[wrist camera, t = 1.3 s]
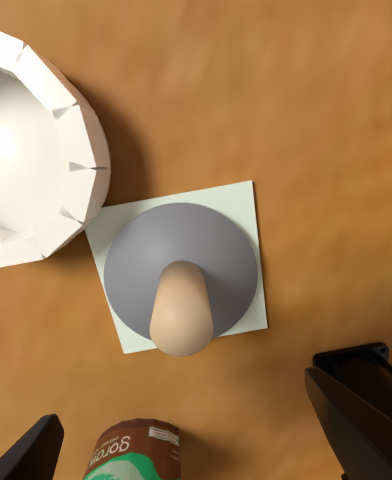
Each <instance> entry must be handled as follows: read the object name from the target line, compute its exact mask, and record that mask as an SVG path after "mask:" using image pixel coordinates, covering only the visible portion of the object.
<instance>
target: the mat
mask: <svg viewBox="0 0 392 480" xmlns="http://www.w3.org/2000/svg"><path fill="white" fill-rule="evenodd" d="M169 203H193V204H199V205H203V206H206V207H209V208H211V209H214V210H216V211H218V212H220V213H221V214H223V215H225V216H226V217H227V218H229V219H230V220H231V221H232V222H233V223H234V224H235V225H236V226H237V227H238V228H239V229H240V230H241V231H242V232H243V234H244V235H245V236H246V238H247V239H248V241H249V243H250V245H251V247H252V249H253V251H254V254H255V257H256V261H257V267H258V281H257V288H256V292H255V295H254V298H253V300H252V303H251V305H250V306H249V308H248V310H247V312H246V313H245V314H244V316H243V317H242V318H241V319H240V320H239V321H238V322H237V323H236V324H235V325H234V326H233V327H232V328H231V329H229V330H228V331H226V332H225V333H223V334H222V335H220V336H226V335H231V334H237V333H242V332H248V331H253V330H259V329H264V328H267V320H266V310H265V301H264V291H263V282H262V272H261V262H260V253H259V243H258V234H257V224H256V215H255V205H254V196H253V186H252V181H251V180H250V181H244V182H239V183H233V184H228V185H223V186H217V187H212V188H206V189H201V190H195V191H190V192H184V193H179V194H173V195H168V196H162V197H157V198H151V199H146V200H140V201H135V202H130V203H124V204H119V205H113V206H108V207H102V208H101V210H100V213H99V214H98V215H97V216H98V217H97V218H95V219H94V220H93V221H92V222H91V223H90V224H89V225H88V226H87V227H86V228H85V232H86V235H87V238H88V241H89V245H90V248H91V251H92V254H93V257H94V260H95V263H96V267H97V270H98V273H99V276H100V279H101V282H102V285H103V289H104V292H105V295H106V291H105V287H104V277H103V276H104V265H105V260H106V256H107V254H108V251H109V248H110V246H111V245H112V243H113V241H114V239H115V238H116V237H117V235H118V234H119V233H120V231H121V230H122V229H123V228H124V227H125V226H126V225H127V224H128V223H129V222H130V221H131V220H133V219H134V218H135V217H137V216H138V215H140V214H141V213H143V212H145V211H147V210H149V209H151V208H154V207H156V206H160V205H164V204H169ZM106 298H107V295H106ZM107 301H108V304H109V307H110V311H111V314H112V317H113V320H114V323H115V326H116V329H117V333H118V336H119V339H120V342H121V345H122V348H123V351H124V354H127V353H132V352H138V351H143V350H149V349H154V348H157V346H156V345H155V344H154V343H153V341H152V340H149V339H147V338H145V337H142V336H141V335H139V334H137V333H136V332H134V331H133V330H131V329H130V328H129V327H128V326H126V325H125V324H124V323H123V322H122V321H121V320H120V318H119V317H118V316H117V314H116V313H115V312H114V310H113V308H112V307H111V305H110V303H109V300H108V298H107ZM220 336H218V337H220Z"/></svg>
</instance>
